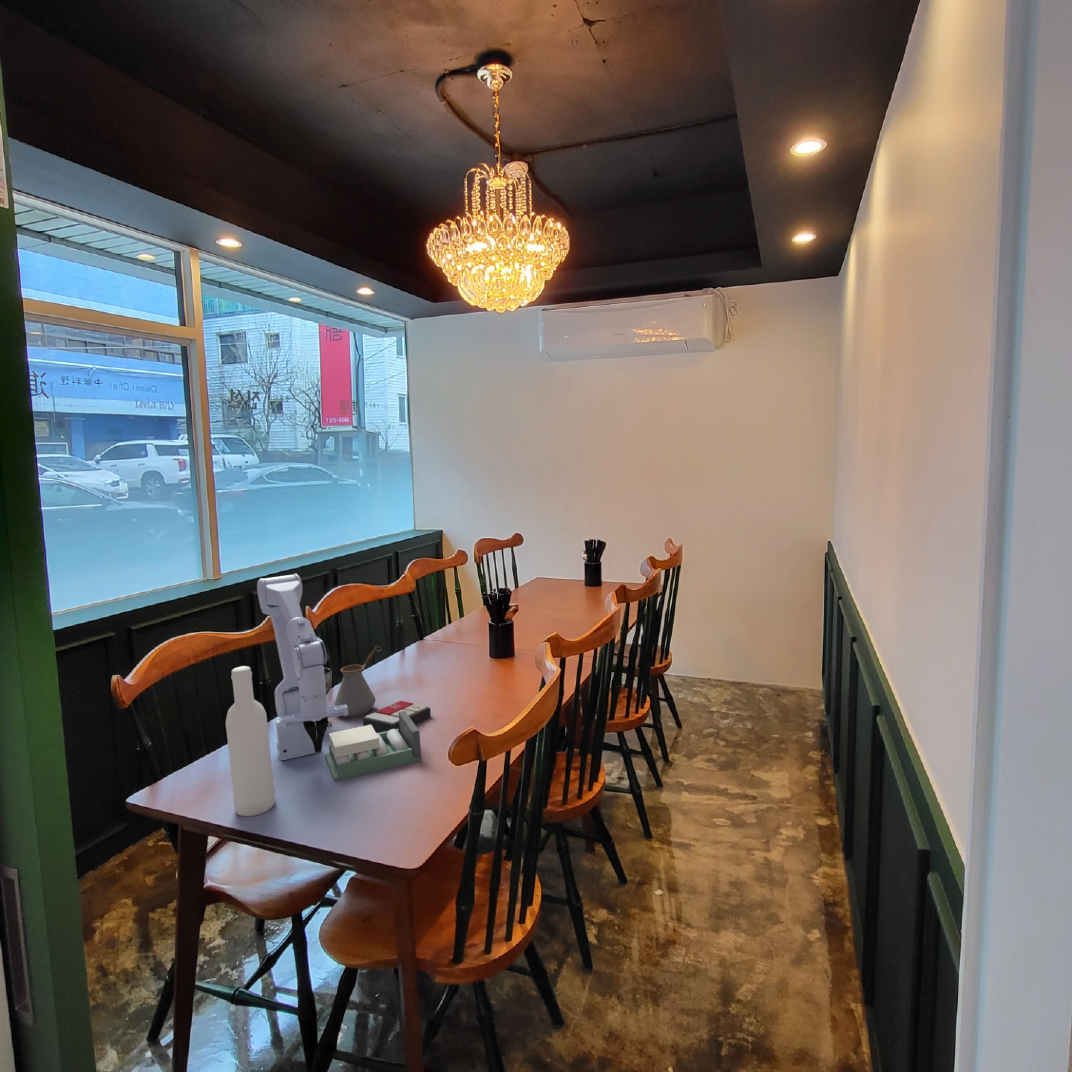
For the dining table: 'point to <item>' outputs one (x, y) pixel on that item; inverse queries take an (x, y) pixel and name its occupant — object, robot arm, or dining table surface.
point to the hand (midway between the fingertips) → (318, 750)
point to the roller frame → (380, 752)
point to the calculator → (396, 716)
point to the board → (354, 740)
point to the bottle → (249, 748)
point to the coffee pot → (355, 689)
